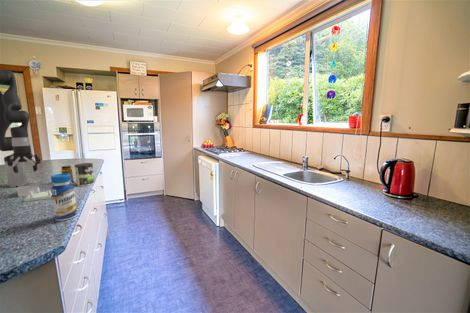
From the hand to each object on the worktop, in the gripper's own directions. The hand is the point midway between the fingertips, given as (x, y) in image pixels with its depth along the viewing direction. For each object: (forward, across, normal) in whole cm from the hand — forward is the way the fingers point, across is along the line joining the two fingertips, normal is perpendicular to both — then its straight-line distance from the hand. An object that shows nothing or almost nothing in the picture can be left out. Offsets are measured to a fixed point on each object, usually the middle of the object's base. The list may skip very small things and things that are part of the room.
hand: (26, 171), depth 128 cm
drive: (+14, 0, 0) cm, 14 cm away
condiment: (+14, -15, -20) cm, 29 cm away
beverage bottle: (+14, -32, +48) cm, 60 cm away
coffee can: (+14, -27, -10) cm, 32 cm away
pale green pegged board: (+14, -11, +11) cm, 21 cm away
